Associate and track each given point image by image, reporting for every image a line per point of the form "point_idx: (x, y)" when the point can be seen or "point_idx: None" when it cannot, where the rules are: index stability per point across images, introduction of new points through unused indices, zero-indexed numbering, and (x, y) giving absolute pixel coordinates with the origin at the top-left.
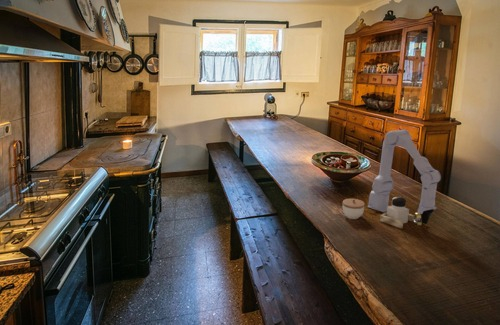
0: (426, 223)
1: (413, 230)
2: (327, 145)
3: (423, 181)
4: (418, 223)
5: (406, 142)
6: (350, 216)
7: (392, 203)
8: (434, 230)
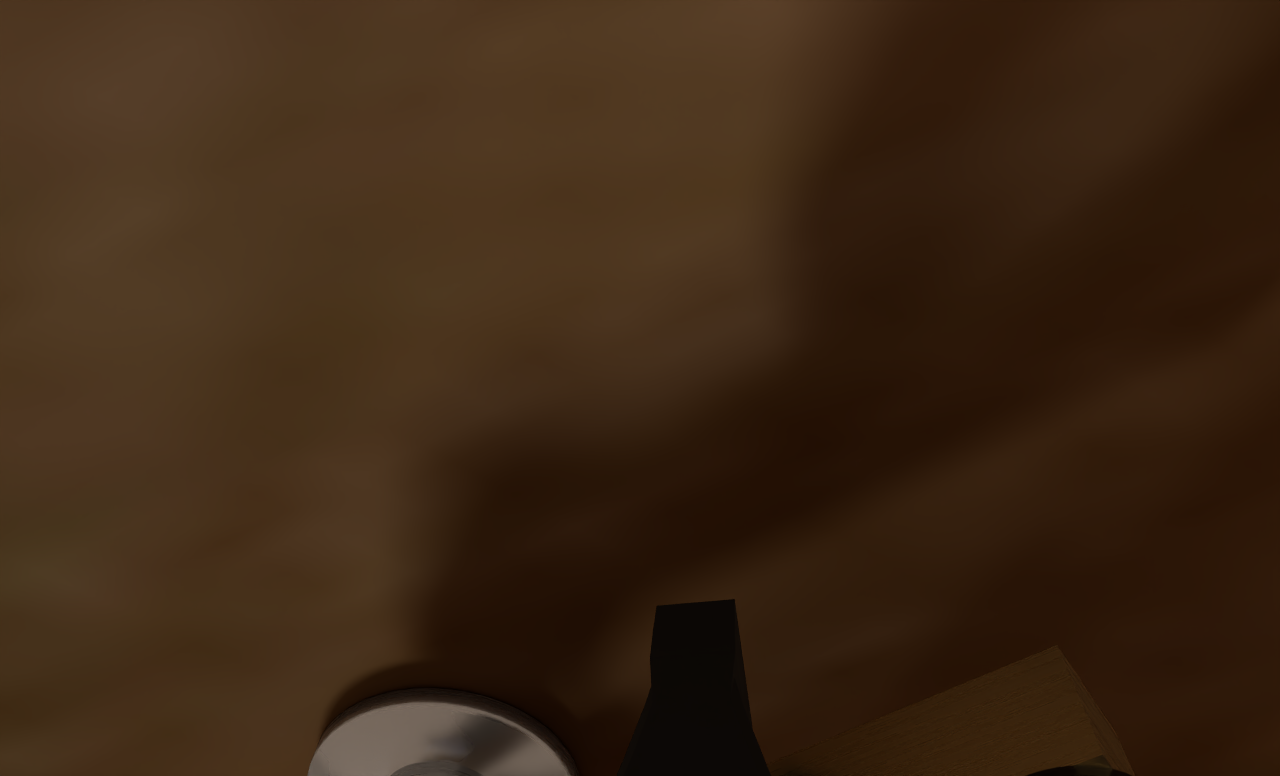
0: (731, 617)
1: (1112, 607)
2: None
3: None
4: (1129, 770)
5: None
6: None
7: None
8: (518, 238)
